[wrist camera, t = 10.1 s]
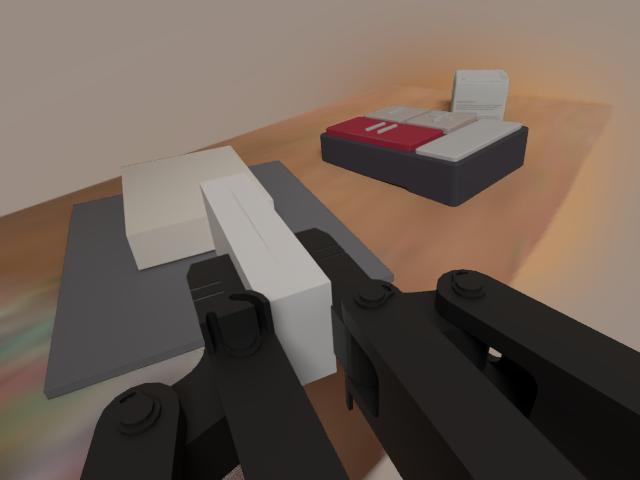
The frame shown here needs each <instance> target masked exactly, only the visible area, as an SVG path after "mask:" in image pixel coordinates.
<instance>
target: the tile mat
mask: <svg viewBox="0 0 640 480" xmlns="http://www.w3.org/2000/svg"><path fill="white" fill-rule="evenodd" d="M248 168H249V170H250V171H251V172H252V173H253V175H254V176H255V177H256V178H257V180H258V181H259V182H260V184H261V185H262V186H263V187H264V189H265V190H266V191H267V192H268V194H269V195H270V196H271V197H272V199H273V202H274V210H275V211H276V212H277V214H278V215H279V216H280V218H281V219H282V220H283V221H284V223H285V224H286V225H287V226H288V228H289V229H290V230H291V232H292V233H293V234H294V233H297V232H301V231H304V230H308V229H311V228H317V229H319V230H322V231H324V232H326V233H328V234H330V235H331V236H332V237H333V238H334V240H335V241H336V242H337V243H338V245H340V246H341V247H342V248H343V249H344V250H345V253H348V255H349V256H350V257H351V258H352V259H353V260H354V261H355V262H356V263H357V264H358V265H359V266H360V267H361V268H362V270H363V271H364V272H365V273H366V274H367V275H368V276H369V277H370V278H371V279H380V280H383V281H386V282H392V281H394V274H393V273H392V272H391V271H390V270H389V269H388V268H387V267H386V266H385V265H384V264H383V263H382V262H381V261H380V260H379V259H378V258H377V257H376V256H375V255H374V254H373V253H372V252H371V251H370V250H369V249H368V248H367V247H366V246H365V245H364V244H363V243H362V242H361V241H360V240H359V239H358V238H357V237H356V236H355V235H354V234H353V233H352V232H351V231H350V230H349V229H348V228H347V227H346V226H345V225H344V224H343V223H342V222H341V221H340V220H339V219H338V218H337V217H336V216H335V215H334V214H333V213H332V212H331V211H330V210H328V209H327V208H326V207H325V206H324V205H323V204H322V203H321V202H320V201H319V200H318V199H317V198H316V197H315V196H314V195H313V194H312V193H311V192H310V191H309V190H308V189H307V188H306V187H305V186H304V185H303V184H302V183H301V182H300V181H299V180H298V179H297V178H296V177H295V176H294V175H293V174H292V173H291V172H290V171H289V170H288V169H287V168H286V167H285V166H284V165H283V164H282V163H281V162H280V161H279V160H278V161H273V162H268V163H264V164H259V165H255V166H250V167H248ZM214 257H217V254H216V251H215V250H212V251H208V252H205V253H201V254H197V255H194V256H190V257H186V258H183V259H179V260H175V261H172V262H168V263H164V264H161V265H157V266H153V267H150V268H146V269H142V270H139V269H138V266H137V264H136V261H135V258H134V256H133V253H132V250H131V247H130V245H129V242H128V239H127V237H126V227H125V214H124V200H123V194H122V195H117V196H112V197H108V198H103V199H99V200H94V201H89V202H85V203H80V204H76V205H73V211H72V217H71V223H70V230H69V236H68V242H67V248H66V255H65V261H64V267H63V273H62V280H61V286H60V292H59V298H58V305H57V311H56V317H55V323H54V330H53V336H52V342H51V348H50V355H49V361H48V367H47V373H46V380H45V386H44V394H45V395H46V397H47V398H48V399H51V398H54V397H57V396H60V395H63V394H66V393H69V392H71V391H74V390H77V389H80V388H83V387H86V386H89V385H92V384H95V383H98V382H101V381H104V380H106V379H109V378H112V377H115V376H118V375H121V374H124V373H127V372H130V371H133V370H136V369H139V368H141V367H144V366H147V365H150V364H153V363H156V362H159V361H162V360H165V359H168V358H171V357H174V356H176V355H179V354H182V353H185V352H188V351H191V350H194V349H197V348H200V347H203V346H205V342H204V339H203V336H202V332H201V329H200V326H199V320H198V317H197V313H196V310H195V306H194V303H193V299H192V296H191V292H190V289H189V286H188V282H187V279H186V276H187V273H188V271H189V268H190V265H191V264H193V263H196V262H200V261H203V260H207V259H210V258H214Z"/></svg>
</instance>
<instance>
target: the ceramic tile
mask: <svg viewBox="0 0 640 480" xmlns="http://www.w3.org/2000/svg"><path fill="white" fill-rule="evenodd" d="M244 172H245V173H246V174H247V175H248V177H249V178H250V179H251V181H252V182H253V183H254V184H255V186H256V187H257V188H258V189H259V191H260V192H261V193H262V195H263V196H264V197H265V198H266V200H267V201H268V202H269V204H270V205H271V206H272V207H273V209H274V202H273V199H272V197H271V196H270V195H269V194H268V192H267V191H266V190H265V189H264V187H263V186H262V185H261V184H260V182H259V181H258V180H257V178H256V177H255V176H254V175H253V173H252V172H251V171H250V170H249V168H248V167H247V166H246V165H245V163H244V162H243V161H242V160H241V158H240V157H239V156H238V155H237V153H236V152H235V151H234V150H233V148H232V147H231V146H225V147H220V148H215V149H210V150H205V151H200V152H195V153H190V154H185V155H179V156H175V157H169V158H165V159H159V160H155V161H149V162H144V163H139V164H134V165H129V166H124V167H121V174H122V187H123V200H124V214H125V227H126V237H127V239H128V242H129V245H130V247H131V250H132V253H133V256H134V258H135V261H136V264H137V266H138V269H139V270H142V269H146V268H150V267H153V266H157V265H161V264H164V263H168V262H172V261H175V260H179V259H183V258H186V257H190V256H194V255H197V254H201V253H205V252H208V251H212V250H215V246H214V242H213V238H212V234H211V230H210V226H209V221H208V217H207V213H206V209H205V205H204V201H203V196H202V192H201V188H200V184H199V183H200V182H204V181H209V180H213V179H218V178H222V177H227V176H231V175H235V174H240V173H244Z"/></svg>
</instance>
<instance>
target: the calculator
mask: <svg viewBox="0 0 640 480" xmlns="http://www.w3.org/2000/svg"><path fill="white" fill-rule="evenodd" d="M326 130H327V132H325V133H323V134H321V135H320V138H321V148H322V158H323V161H325V162H327V163H330V164H333V165H336V166H339V167H341V168H344V169H347V170H350V171H353V172H355V173H358V174H361V175H364V176H367V177H370V178H374V179H377V180H380V181H384V182H387V183H391V184H394V185H398V186H401V187H404V188H406V189H407V190H408V191H409V192H411V193H414V194H417V195H420V196H422V197H425V198H428V199H431V200H434V201H436V202H439V203H442V204H445V205H448V206H451V207H456V206H459V205H461V204H462V203H464V202H465V201H467V200H469V199H470V198H472V197H473V196H475V195H477V194H478V193H480V192H481V191H483V190H484V189H486V188H488V187H489V186H491V185H492V184H494V183H496V182H497V181H499V180H500V179H502V178H504V177H505V176H507V175H508V174H510V173H512V172H513V171H515V170H516V169H518V168H520V167H521V166H523V162H524V156H525V150H526V143H527V136H528V127H525V126H522V124H521V123H516V122H508V121H500V120H492V119H480V120H477V116H476V115H470V114H462V113H454V112H446V111H439V110H434V111H431V112H429V109H422V108H414V107H406V106H399V105H392V106H389V107H386V108H383V109H380V110H377V111H374V112H371V113H368V114H366V115H365V117H357V118H354V119H351V120H348V121H345V122H342V123H339V124H336V125H333V126H331V127H328V128H326Z"/></svg>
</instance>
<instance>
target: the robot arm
mask: <svg viewBox="0 0 640 480" xmlns="http://www.w3.org/2000/svg"><path fill="white" fill-rule="evenodd" d="M199 184H200V188H201V192H202V196H203V201H204V205H205V209H206V213H207V217H208V221H209V226H210V230H211V234H212V238H213V242H214V246H215V251H216V254H217V257H214V258H210V259H207V260H203V261H200V262H196V263H193V264H191V265H190V268H189V271H188V273H187V276H186V279H187V282H188V286H189V289H190V292H191V296H192V299H193V303H194V306H195V310H196V313H197V317H198V320H199V326H200V329H201V332H202V336H203V339H204V342H205V350H204V354H203V356H202V358H201V360H200V362H199V364H198V365H197V366H196V367H195V368H194V369H193V370H192V371H191V372H190V373H189V374H188V375H186V376H185V377H184V378H182V379H181V380H179V381H178V382H176V383H175V384H173V385H172V386H168V385H165V384H162V383H144V384H141V385H138V386H135V387H132V388H130V389H128V390H126V391H125V392H123V393H122V394H120V395H118V396H117V397H115V399H114V400H113V401H112V402H111V403H110V404H109V405H108V406H107V407H106V408H105V409H104V410H103V412H102V414H101V416H100V418H99V420H98V422H97V425H96V428H95V431H94V435H93V438H92V441H91V445H90V448H89V451H88V455H87V458H86V461H85V465H84V468H83V471H82V475H81V478H80V480H222V479H223V478H224V477H225V476H226V475H227V474H229V473H230V472H231V471H232V470H233V469H234V468H235V467H237V466H238V465H239V464H240V465H241V468H242V472H243V475H244V478H245V480H350V479H349V477H348V475H347V473H346V471H345V469H344V467H343V465H342V463H341V461H340V459H339V458H338V456H337V454H336V452H335V450H334V448H333V446H332V444H331V442H330V440H329V438H328V436H327V434H326V432H325V430H324V428H323V426H322V424H321V422H320V420H319V418H318V416H317V414H316V412H315V410H314V408H313V406H312V404H311V402H310V400H309V399H308V397H307V395H306V393H305V391H304V389H303V387H302V386H303V385H306V384H308V383H311V382H313V381H316V380H318V379H321V378H323V377H325V376H328V375H330V374H333V373H335V372H337V369H336V357H337V359H338V360H339V362H340V363H341V365H342V366H343V368H344V370H345V388H346V403H347V406H348V409H349V411H350V410H352V409H353V399H354V400H355V402H356V403H357V405H358V407H359V408H360V410H361V412H362V413H363V415H364V417H365V418H366V420H367V422H368V423H369V425H370V426H371V428H372V430H373V431H374V433H375V435H376V436H377V438H378V440H379V441H380V443H381V444H382V446H383V448H384V449H385V451H386V453H387V454H388V456H389V458H390V459H391V461H392V462H393V464H394V466H395V467H396V469H397V471H398V472H399V474H400V476H401V477H402V479H403V480H640V352H638V351H636V350H634V349H632V348H630V347H628V346H626V345H624V344H622V343H620V342H618V341H616V340H614V339H612V338H610V337H608V336H606V335H604V334H602V333H600V332H598V331H596V330H594V329H592V328H590V327H588V326H586V325H584V324H582V323H580V322H578V321H576V320H574V319H572V318H570V317H568V316H566V315H565V314H563V313H561V312H558V311H557V310H554V309H553V308H551V307H548V306H547V305H545V304H543V303H541V302H539V301H537V300H535V299H533V298H531V297H529V296H527V295H525V294H523V293H521V292H519V291H517V290H515V289H513V288H511V287H509V286H507V285H505V284H503V283H501V282H499V281H497V280H495V279H493V278H491V277H489V276H487V275H485V274H482V273H480V272H477V271H472V270H464V269H462V270H452V271H450V272H447V273H445V274H443V275H442V276H441V277H440V278H439V279H438V282H437V289H436V290H433V291H423V292H413V293H402V292H401V291H400V290H399V289H398V288H397V287H395V286H394V285H393V284H391V283H389V282H386V281H383V280H380V279H371V278H370V277H369V276H368V275H367V274H366V273H365V272H364V271H363V270H362V268H361V267H360V266H359V265H358V264H357V263H356V262H355V261H354V260H353V259H352V258H351V257H350V256H349V255H348V253H345V250H344V249H343V248H342V247H341V246H340V245H338V243H337V242H336V241H335V240H334V238H333V237H332V236H331V235H330V234H328V233H326V232H324V231H322V230H319V229H317V228H311V229H308V230H304V231H301V232H297V233H294V234H293V233H292V232H291V230H290V229H289V228H288V226H287V225H286V224H285V223H284V221H283V220H282V219H281V218H280V216H279V215H278V214H277V212H276V211H275V210H274V209H273V207H272V206H271V205H270V204H269V202H268V201H267V200H266V198H265V197H264V196H263V195H262V193H261V192H260V191H259V189H258V188H257V187H256V186H255V184H254V183H253V182H252V181H251V179H250V178H249V177H248V175H247V174H246V173H245V172H244V173H240V174H235V175H231V176H227V177H222V178H218V179H213V180H209V181H204V182H200V183H199ZM490 347H491V348H493V349H495V350H496V351H498V352H499V353H501V354H502V356H501V357H495V356H493V355H491V354H490V353H489V348H490Z"/></svg>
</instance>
